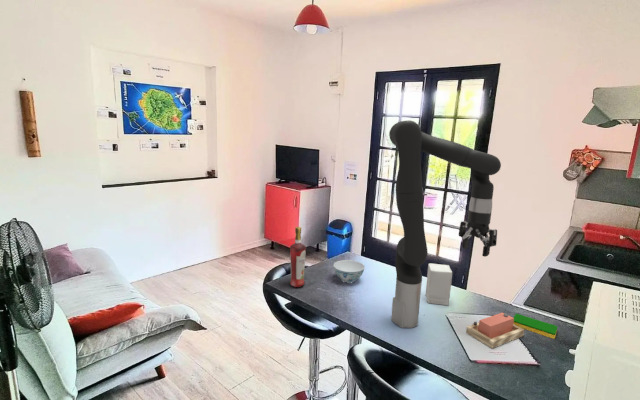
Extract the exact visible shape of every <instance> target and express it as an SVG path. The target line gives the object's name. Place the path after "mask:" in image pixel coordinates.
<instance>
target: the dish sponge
mask: <svg viewBox="0 0 640 400" xmlns="http://www.w3.org/2000/svg"><path fill="white" fill-rule="evenodd" d="M513 318H514V322H513V324H514V325H516V326H518V327H520V328H522V329H524V330H527V331H529V332H531V333H532V332H533V333H535V334H538V335H541V336H544V337H547V338H550V339H556V335H557V331H558V326H557V325H555V324H552V323H548V322H545V321H541V320H539V319H535V318H532V317H529V316H525V315H523V314H519V313H515V314H514V316H513Z"/></svg>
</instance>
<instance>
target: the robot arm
mask: <svg viewBox="0 0 640 400" xmlns="http://www.w3.org/2000/svg"><path fill="white" fill-rule="evenodd" d="M388 136H389V141H390V142H391V143H392V145H394V146H395V147H397V156H398V170H397V175H396V180H395V200H396V208H397V211H398V215H399V219H400V221H401V225H402V229H403V237H401V238H400V239H399V240H398V242H397V245H396V249H395V250H396V251H395V271H396V278H395V279H396V281H395V282H396V283H395V292H394V296H393V297H392V304H391V305H392V306H391V318H390V320H391V322H393V323H395V325H397V326H398V327H400V328H401V329H403V328H404V329H405V328H408V329H411V328H412V329H413V328H416V327H418V324H419V316H420V304H421V296H422V295H421V294H422V282H423V273H422V270H421V266H422V265H423V264H424V263H425V262H426V261H427V258H428V245H427V244H428V243H427V239H426V233H425V225H424V224H425V223H424V222H425V219H424V218H425V217H424V215H425V213H424V189H423V175H422V173H423V172H422V165H421V164H422V163H421V162H422V161H421V159H422V158H421V154H422V153H426V154H428V155H431V156H434V157H436V158H439V159H441V160H442V161H446V162H448V163H450V164H453V165H456V166H459V167H463V168H468V169H470V177H471V184H472V185H471V186H472V188H471V193H470V200H469V205H468V214H467V220H466V221H465V220H464V221H460V223H459V231H458V237H460V238H461V239H462V245H461V246H462V249H463V250H467V249H469V244H470V238H471V237H476V238H477V239H480V241H481V242H482V244H483V247H482V248H483V249H482V257H484V258H485V257H486V258H487V257H488V256H489V255H490V253H491V252H490V251H491V247H496V246H497V242H498V241H497V239H498V230H497V229H496V228H495V229H492V228H490V225H491V219H492V218H491V217H492V212H493V211H492V210H493V196H494V189H495V188H494V183H492V181H491V180H490V176H493V175H495V174H497V173H498V172H500V170H501V167H502V163H501V161H500V159H499V158H498V157H497V156H495V155H493V154H490V153H487V152H485V151H484V152H483V151H480V150H476V149H474V148H471V147H468V146H466V145H464V144H461V143H458V142H455V141H452V140H449V139H445V138H441V137H436V136H433V135H430V134H428V133H426V132H423V131H422V129H421V127H420V125H419V124H418V123H417V122H415V121H414V120H402V121H398V122H396V123H394V124H393V125H392V126H391V128H390V130H389V134H388ZM467 229H468V230H467Z"/></svg>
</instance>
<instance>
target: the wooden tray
mask: <svg viewBox="0 0 640 400" xmlns="http://www.w3.org/2000/svg"><path fill="white" fill-rule="evenodd" d="M478 327H479V322H477V321H473V324H470V325H467V326H466V328H465V329H466V330H465V333H466V334H467V333H468V335H469V336H471V337H472V338H474V339H476V340H477V339H478V340H477V341H479V342H480V341H481V342H480V343H482V344H483V345H485V344H486V345H485V346H487V347H488V346H489V348H490V349H492V348H493V349H495V348H497V346H498V347H499V345H500V346H502V345H501V344H503V345H504V343H505V344H507V343H509V341H510V342H512V341H515V340H517V339H519V338H521V337H524V335H525V329H523V328H520V327H518V326H516V325H514V324H513V329H512V331H510V332H508V333H505V334H502V335H500V336H497V337H494V338H492V339H491V338H489V337H488V336H486V335H484V334H482V333H481V332H479V331H478ZM514 339H515V340H514ZM511 340H512V341H511ZM506 342H507V343H506ZM494 347H495V348H494Z"/></svg>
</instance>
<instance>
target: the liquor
mask: <svg viewBox="0 0 640 400" xmlns="http://www.w3.org/2000/svg"><path fill="white" fill-rule="evenodd" d="M294 232H295V240H294V243H293V244H291V245H290V246H289V255H290V256H289V261H290V282H289V284H290V285H291V286H292V287H293V286H294V287H293V288H296V287H299V288H301V287H303V286H304V285H305V265H306V255H307V254H306V253H307V252H306V251H307V250H306V249H307V246H306V245H305V244H303V243H302V236H301V234H302V227H301V226H296V227H295V230H294ZM300 286H301V287H300Z"/></svg>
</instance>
